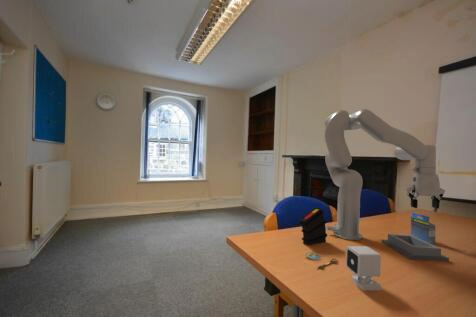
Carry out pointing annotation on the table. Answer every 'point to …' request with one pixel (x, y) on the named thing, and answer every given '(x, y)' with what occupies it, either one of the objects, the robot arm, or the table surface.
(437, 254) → the slot holder
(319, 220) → the black ridged block
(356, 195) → the robot arm
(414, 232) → the label tape box
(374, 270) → the security camera
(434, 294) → the table surface
